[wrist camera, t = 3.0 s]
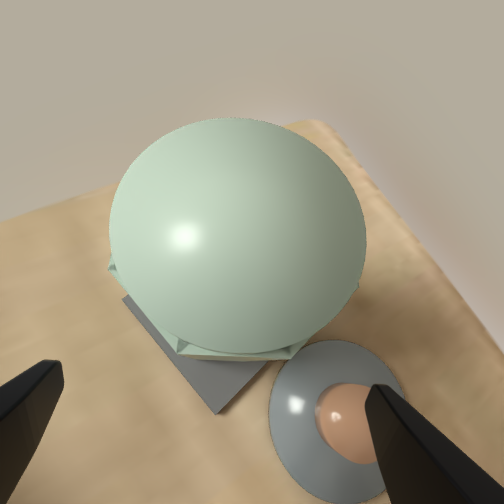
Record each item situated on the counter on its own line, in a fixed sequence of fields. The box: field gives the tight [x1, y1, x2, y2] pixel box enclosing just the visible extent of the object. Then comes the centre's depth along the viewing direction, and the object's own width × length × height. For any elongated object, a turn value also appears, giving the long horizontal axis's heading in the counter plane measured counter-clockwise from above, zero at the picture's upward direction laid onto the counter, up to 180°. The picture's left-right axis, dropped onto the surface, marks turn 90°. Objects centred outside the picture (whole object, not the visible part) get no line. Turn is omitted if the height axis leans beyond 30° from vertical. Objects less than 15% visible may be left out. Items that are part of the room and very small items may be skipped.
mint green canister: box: [108, 118, 367, 362], centre depth 14 cm, size 7×7×13 cm
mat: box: [122, 294, 269, 415], centre depth 20 cm, size 9×9×1 cm
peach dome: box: [315, 382, 377, 464], centre depth 18 cm, size 4×4×2 cm
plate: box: [268, 340, 406, 504], centre depth 19 cm, size 9×9×1 cm
